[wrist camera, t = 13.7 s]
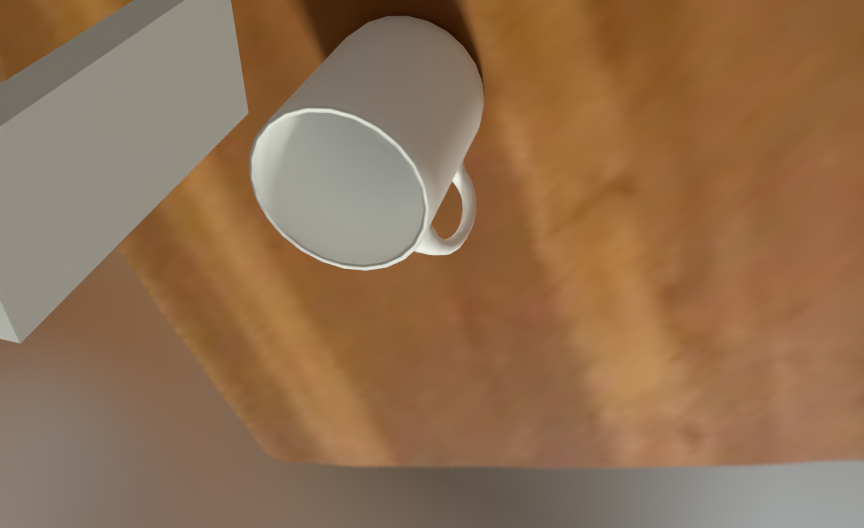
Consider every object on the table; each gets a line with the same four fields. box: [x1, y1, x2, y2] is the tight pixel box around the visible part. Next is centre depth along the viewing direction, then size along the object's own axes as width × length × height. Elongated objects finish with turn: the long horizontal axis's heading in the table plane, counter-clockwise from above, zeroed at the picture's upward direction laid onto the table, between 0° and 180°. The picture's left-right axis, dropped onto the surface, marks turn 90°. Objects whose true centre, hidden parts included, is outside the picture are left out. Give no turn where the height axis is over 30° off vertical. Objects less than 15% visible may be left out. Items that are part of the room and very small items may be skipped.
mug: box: [249, 16, 484, 270], centre depth 42 cm, size 10×12×12 cm
